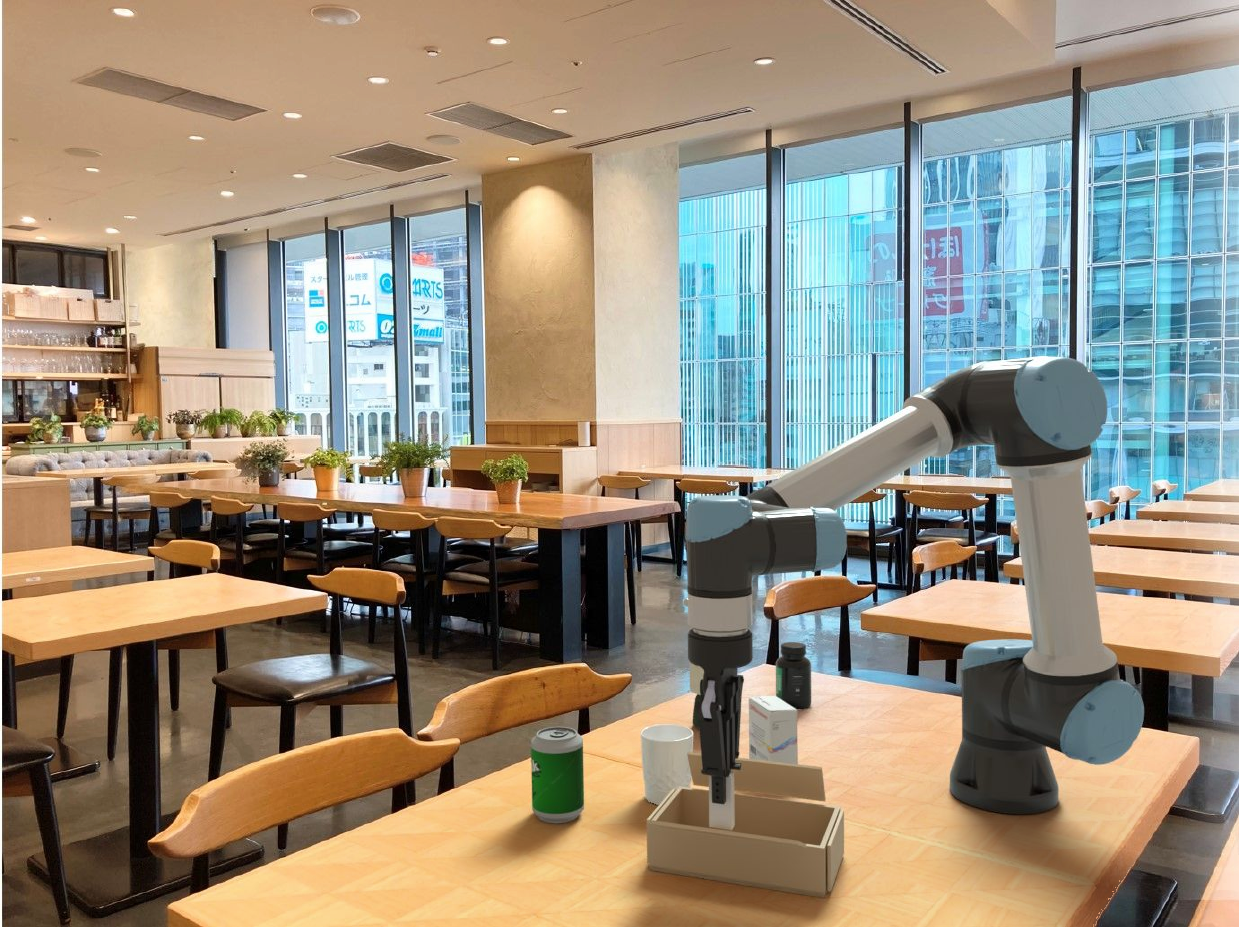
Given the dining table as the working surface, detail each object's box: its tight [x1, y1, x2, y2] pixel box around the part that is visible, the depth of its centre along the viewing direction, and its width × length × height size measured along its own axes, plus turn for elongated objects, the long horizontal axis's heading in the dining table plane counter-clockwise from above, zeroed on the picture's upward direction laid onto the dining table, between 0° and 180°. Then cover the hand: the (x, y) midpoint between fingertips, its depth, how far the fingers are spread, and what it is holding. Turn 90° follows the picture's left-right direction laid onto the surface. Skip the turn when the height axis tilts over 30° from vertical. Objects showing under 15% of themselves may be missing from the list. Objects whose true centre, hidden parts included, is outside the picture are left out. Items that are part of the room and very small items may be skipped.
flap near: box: [646, 819, 806, 848], centre depth 117 cm, size 18×1×6 cm
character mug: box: [689, 661, 704, 728], centre depth 180 cm, size 11×7×13 cm, turn 26°
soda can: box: [530, 726, 585, 824], centre depth 142 cm, size 8×8×12 cm
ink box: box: [748, 695, 799, 764], centre depth 156 cm, size 8×5×12 cm, turn 16°
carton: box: [646, 787, 845, 899], centre depth 127 cm, size 23×13×6 cm, turn 69°
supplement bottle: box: [775, 641, 812, 710], centre depth 193 cm, size 7×7×12 cm
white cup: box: [640, 723, 694, 806], centre depth 148 cm, size 8×8×10 cm
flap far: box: [687, 751, 826, 802], centre depth 131 cm, size 18×1×6 cm, turn 69°
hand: (722, 825), depth 116 cm, fingers closed
